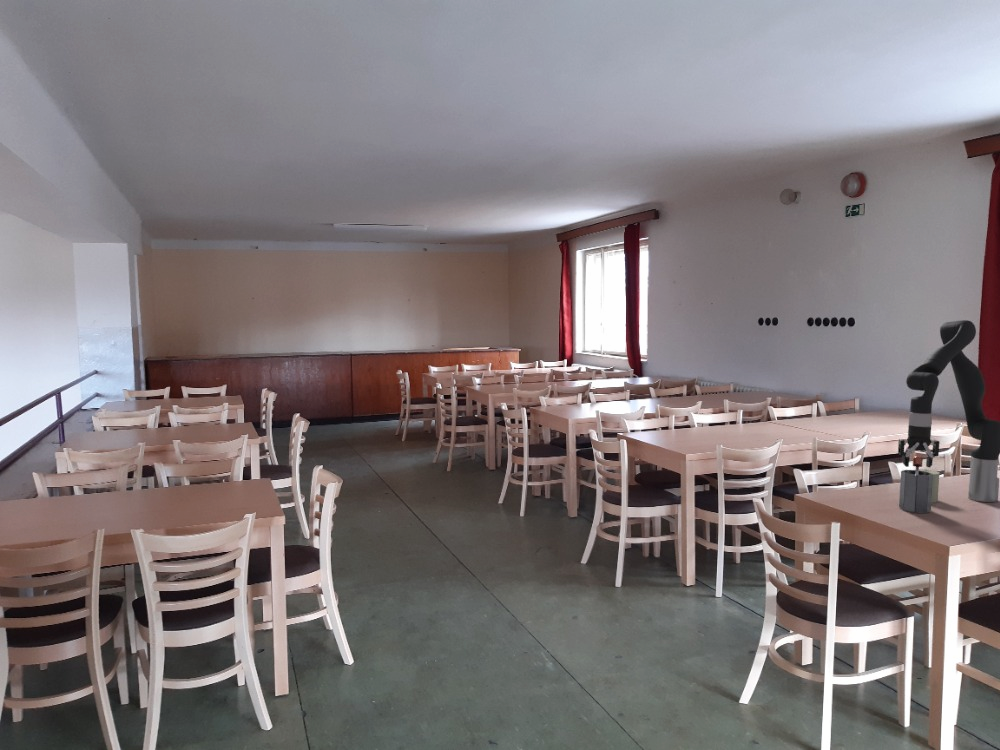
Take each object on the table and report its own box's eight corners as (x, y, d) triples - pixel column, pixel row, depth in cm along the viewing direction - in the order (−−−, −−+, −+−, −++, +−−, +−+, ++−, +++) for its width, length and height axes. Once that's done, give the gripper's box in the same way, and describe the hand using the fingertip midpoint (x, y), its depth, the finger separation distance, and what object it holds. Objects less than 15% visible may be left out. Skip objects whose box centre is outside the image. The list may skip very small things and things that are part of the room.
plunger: (920, 504, 281) (923, 455, 279) (929, 509, 274) (932, 459, 272) (901, 504, 282) (903, 454, 280) (909, 509, 275) (912, 458, 273)
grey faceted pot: (920, 505, 285) (922, 469, 283) (934, 513, 273) (937, 476, 271) (893, 504, 286) (895, 468, 285) (906, 512, 274) (908, 475, 272)
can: (936, 498, 296) (938, 469, 295) (939, 503, 287) (941, 473, 286) (910, 495, 300) (912, 467, 299) (913, 500, 291) (914, 471, 290)
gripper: (935, 423, 278) (932, 465, 279) (895, 422, 280) (893, 464, 281) (944, 426, 270) (941, 469, 272) (904, 425, 272) (901, 468, 274)
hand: (917, 466), depth 277 cm, fingers open, 7 cm apart
